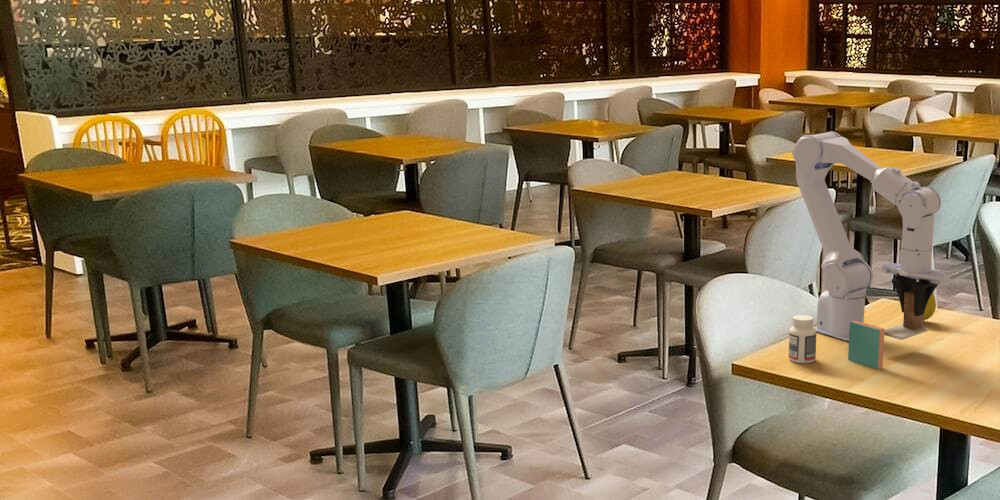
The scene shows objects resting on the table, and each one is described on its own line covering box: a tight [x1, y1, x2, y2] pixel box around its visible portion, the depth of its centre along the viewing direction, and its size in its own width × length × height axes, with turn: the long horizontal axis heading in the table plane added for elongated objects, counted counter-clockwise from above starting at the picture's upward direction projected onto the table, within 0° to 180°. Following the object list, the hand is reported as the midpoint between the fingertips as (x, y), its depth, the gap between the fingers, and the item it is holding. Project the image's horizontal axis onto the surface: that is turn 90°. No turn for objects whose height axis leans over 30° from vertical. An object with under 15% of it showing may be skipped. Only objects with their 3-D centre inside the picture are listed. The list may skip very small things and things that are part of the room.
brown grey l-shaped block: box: [884, 290, 928, 341], centre depth 209 cm, size 5×8×8 cm, turn 122°
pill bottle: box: [788, 314, 817, 364], centre depth 207 cm, size 5×5×9 cm
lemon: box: [923, 293, 937, 322], centre depth 229 cm, size 6×6×8 cm
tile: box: [847, 320, 886, 370], centre depth 204 cm, size 7×2×8 cm, turn 32°
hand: (912, 313), depth 210 cm, fingers closed on brown grey l-shaped block, 2 cm apart
